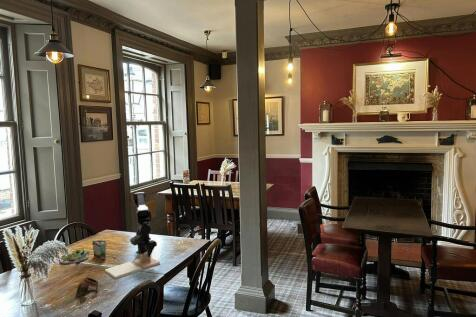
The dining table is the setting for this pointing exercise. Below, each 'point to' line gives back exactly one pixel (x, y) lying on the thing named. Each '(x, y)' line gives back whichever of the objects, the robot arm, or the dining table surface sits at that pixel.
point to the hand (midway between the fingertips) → (145, 255)
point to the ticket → (123, 269)
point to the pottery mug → (86, 286)
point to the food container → (99, 249)
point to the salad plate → (75, 256)
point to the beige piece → (145, 261)
